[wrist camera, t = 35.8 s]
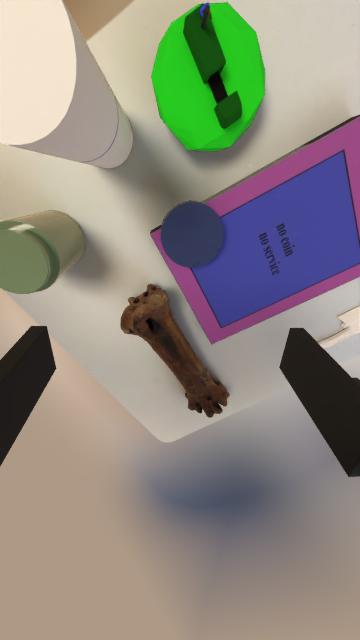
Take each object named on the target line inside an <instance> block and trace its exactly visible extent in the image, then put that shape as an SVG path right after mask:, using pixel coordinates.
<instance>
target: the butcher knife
mask: <svg viewBox="0 0 360 640" xmlns="http://www.w3.org/2000/svg"><path fill="white" fill-rule="evenodd" d="M336 318H338V319H339V320H341V321H343V324H341V327H342V328H346V327H347V328H346V329H344V330H342V331H341V332H339V333H337V334H335V335H334V336H332V337H329V338H327V339H324V340H322V341H319V342H317V343H318V344H319V345H320V346H321V347H322V348H323V349H325V348H328V347H330V346H332V345H334V344H336V343H338V342H340V341H342V340H344V339H346V338H348V337H350V336H353V335H355V334H357V333H359V332H360V306H358V307H356V308H354V309H352V310H350V311H348V312H346V313H344V314H342V315H340V316H338V317H336Z"/></svg>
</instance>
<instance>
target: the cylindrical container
mask: <svg viewBox="0 0 360 640" xmlns="http://www.w3.org/2000/svg"><path fill="white" fill-rule="evenodd" d="M0 143H2V144H6V145H10V146H14V147H18V148H22V149H26V150H31V151H35V152H39V153H43V154H47V155H51V156H56V157H60V158H64V159H68V160H73V161H77V162H81V163H85V164H89V165H93V166H98V167H102V168H115V167H117V166H119V165H121V164H122V163H124V162H125V160H126V159H127V158H128V156H129V154H130V152H131V149H132V144H133V133H132V129H131V125H130V123H129V120H128V119H127V117H126V115H125V113H124V111H123V109H122V108H121V106H120V104H119V102H118V100H117V98H116V96H115V95H114V93H113V91H112V89H111V87H110V85H109V84H108V82H107V80H106V78H105V76H104V75H103V73H102V71H101V69H100V67H99V65H98V64H97V62H96V60H95V58H94V56H93V54H92V53H91V51H90V49H89V47H88V45H87V44H86V42H85V40H84V39H83V36H82V35H81V33H80V31H79V29H78V27H77V25H76V24H75V22H74V20H73V18H72V16H71V15H70V13H69V11H68V9H67V7H66V5H65V4H64V2H63V0H0Z"/></svg>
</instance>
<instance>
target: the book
mask: <svg viewBox="0 0 360 640" xmlns="http://www.w3.org/2000/svg"><path fill="white" fill-rule="evenodd" d="M201 203H203V204H207V205H208V206H209V207H211V208H212V209H213V210H214V211H215V212H216V213H217V214H218V216H219V217H220V219H221V221H222V224H223V229H224V239H223V243H222V246H221V248H220V250H219V252H218V254H217V255H216V256H215V257H214V258H213V259H212V260H211V261H210V262H208V263H207V264H205V265H202V266H199V267H194V268H189V267H183V266H180V265H178V264H176V263H175V262H173V261H172V260H171V259H170V258H169V257H168V256H167V255H166V253H165V251H164V249H163V247H162V243H161V238H160V235H161V227H162V225H160V226H158V227H157V228H155V229H153V230H151V232H150V235H151V237H152V239H153V240H154V242H155V244H156V246H157V248H158V249H159V251H160V253H161V255H162V257H163V258H164V260H165V262H166V264H167V266H168V267H169V269H170V271H171V273H172V275H173V276H174V278H175V280H176V282H177V284H178V285H179V287H180V289H181V291H182V293H183V294H184V296H185V298H186V300H187V302H188V303H189V305H190V307H191V309H192V311H193V312H194V314H195V316H196V318H197V320H198V321H199V323H200V325H201V327H202V329H203V330H204V332H205V334H206V336H207V338H208V339H209V341H210V343H211V345H212V344H214V343H216V342H218V341H220V340H223V339H225V338H227V337H229V336H231V335H233V334H236V333H238V332H240V331H242V330H244V329H247V328H249V327H251V326H253V325H255V324H257V323H260V322H262V321H264V320H266V319H268V318H271V317H273V316H275V315H277V314H279V313H281V312H284V311H286V310H288V309H290V308H292V307H295V306H297V305H299V304H301V303H303V302H306V301H308V300H310V299H312V298H314V297H316V296H319V295H321V294H323V293H325V292H327V291H330V290H332V289H334V288H336V287H338V286H340V285H343V284H345V283H347V282H349V281H351V280H354V279H356V278H358V277H360V115H358V116H355V117H352V118H350V119H348V120H346V121H345V122H343V123H341V124H339V125H338V126H336V127H334V128H332V129H330V130H329V131H327V132H325V133H323V134H322V135H320V136H318V137H316V138H314V139H313V140H311V141H309V142H307V143H306V144H304V145H302V146H300V147H299V148H297V149H295V150H293V151H291V152H290V153H288V154H286V155H284V156H283V157H281V158H279V159H277V160H275V161H274V162H272V163H270V164H268V165H267V166H265V167H263V168H261V169H260V170H258V171H256V172H254V173H252V174H251V175H249V176H247V177H245V178H244V179H242V180H240V181H238V182H236V183H235V184H233V185H231V186H229V187H228V188H226V189H224V190H222V191H220V192H219V193H217V194H215V195H213V196H212V197H210V198H208V199H206V200H205V201H203V202H201Z"/></svg>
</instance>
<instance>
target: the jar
mask: <svg viewBox="0 0 360 640" xmlns="http://www.w3.org/2000/svg"><path fill="white" fill-rule="evenodd" d="M84 251H85V237H84V233H83V231H82V229H81V227H80V226H79V225H78V223H77V222H76V221H75V220H74V219H73V218H71V217H70V216H69V215H67V214H65V213H62V212H59V211H54V210H49V211H44V212H40V213H36V214H32V215H27V216H23V217H19V218H15V219H11V220H7V221H3V222H0V288H2V289H4V290H7V291H9V292H13V293H19V294H26V293H27V294H28V293H32V292H38V291H42V290H45V289H47V288H49V287H50V286H51V285H52V284H53V283H55V282H56V281H57V280H58V279H59V278H60V277H61V276H62V275H63V274H64V273H65V272H66V271H67V270H69V269H70V268H71V267H72V266H73V265H74V264H75V263H76V262H77V261H78V260H79V259H80V258H81V257H82V255H83V253H84Z"/></svg>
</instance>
